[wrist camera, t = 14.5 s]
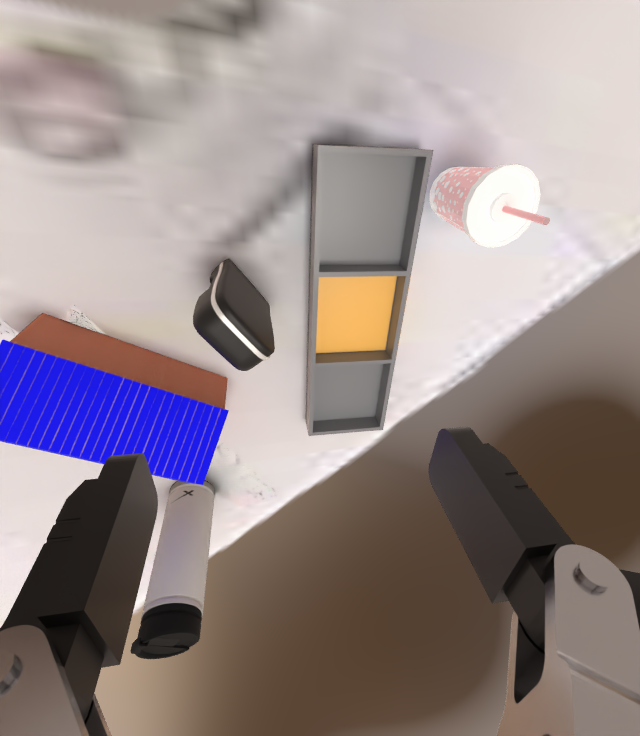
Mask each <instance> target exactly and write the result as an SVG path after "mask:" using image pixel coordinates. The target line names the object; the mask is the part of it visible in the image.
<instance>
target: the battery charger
mask: <svg viewBox="0 0 640 736" xmlns="http://www.w3.org/2000/svg"><path fill="white" fill-rule="evenodd" d="M210 283H211V285H210V287H209V289H208V290H207V291H205V292H204V293H203V294H202V295H201V296H200V297H199V299H198V301H197V303H196V306H195V310H194V315H193V324H194V327H195V329H196V330H197V332H198V333H199V334H200V335H201V336H202V337H203V338H204V339H205V340H206V341H207V342H208V343H209V344H210V345H211V346H212V347H213V348H214V349H215V350H216V351H217V352H218V353H220V354H221V355H222V356H223V357H224V358H225V359H226V360H227V361H228V362H229V363H231V364H232V365H233V366H234V367H235V368H237V369H238V370H241V371H247V370H250V369H251V368H253V367H254V366H256V365H257V364H259V363H260V362H261V361H263V360H266V359H268V358H269V357H270V355H271V354H272V353H273V352H274V349H275V347H274V336H273V329H272V323H271V317H270V306H269V304H268V303H267V301H266V300H265V299H264V298H263V297H262V296H261V294H260V293H259V292H258V291H257V290H256V289H255V287H254V286H253V285H252V284H251V283H250V282H249V281H248V279H247V278H246V277H245V276H244V275H243V274H242V273H241V271H240V270H239V269H238V268H237V267H236V266H235V265H234V263H233V262H232V261H231V260H229V259H227V260H226V261H224V262H222V263H220V265H219V266H218V267H217V268H216V269H215V270H214V271H213V272H212V274H211V277H210Z"/></svg>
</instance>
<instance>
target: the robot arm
mask: <svg viewBox="0 0 640 736" xmlns="http://www.w3.org/2000/svg"><path fill="white" fill-rule="evenodd" d="M429 478H430V482H431V485H432V487H433V489H434V491H435V493H436V495H437V497H438V499H439V501H440V503H441V505H442V507H443V508H444V511H445V513H446V515H447V517H448V519H449V521H450V522H451V524H452V526H453V528H454V530H455V532H456V534H457V536H458V538H459V540H460V542H461V544H462V546H463V548H464V550H465V552H466V553H467V555H468V558H469V559H470V561H471V563H472V565H473V567H474V569H475V571H476V573H477V575H478V577H479V579H480V581H481V583H482V585H483V587H484V589H485V591H486V593H487V595H488V597H489V598H490V600H491V602H492V603H498V602H504V601H509V602H510V604H511V605H512V607H513V609H514V613H513V616H512V624H511V637H510V652H509V666H508V679H507V693H506V704H505V709H504V713H503V716H502V719H501V722H500V725H499V728H498V732H497V736H640V573H635V572H630V571H625V570H620V569H618V568H617V567H616V566H615V565H614V564H613V563H611V562H610V561H609V560H608V559H607V558H605V557H604V556H602V555H600V554H599V553H597V552H596V551H593V550H591V549H589V548H587V547H583V546H580V545H576V544H575V543H574V542H573V541H572V540H571V539H570V537H569V536H568V535H567V534H566V532H565V531H564V530H563V529H562V527H561V526H560V525H559V524H558V522H557V521H556V520H555V518H554V517H553V516H552V515H551V513H550V512H549V511H548V509H547V508H546V507H545V506H544V505H543V503H542V502H541V501H540V500H539V498H538V497H537V496H536V494H535V493H534V492H533V491H532V489H531V488H528V484H527V483H526V482H525V480H524V479H523V478H522V477H521V475H518V471H517V470H516V469H515V468H514V467H513V465H512V464H511V463H510V461H509V460H508V459H507V457H506V456H505V455H503V454H502V453H501V452H499V451H498V450H497V449H495V448H494V447H492V446H491V445H490V444H488V443H487V444H483V443H482V442H481V441H480V439H479V438H478V437H477V435H476V434H475V433H474V432H473V430H472V429H471V428H469V427H458V428H447V429H441V430H440V431H439V433H438V437H437V440H436V443H435V447H434V450H433V453H432V457H431V460H430V464H429ZM157 507H158V498H157V492H156V488H155V485H154V482H153V479H152V475H151V472H150V469H149V466H148V463H147V459H146V457H145V455H144V454H143V453H140V454H128V455H116V456H110V457H108V459H107V460H106V462H105V464H104V466H103V468H102V471H101V473H100V475H99V477H98V479H91V480H85V481H84V482H83V483H82V484H81V485H80V486H79V487H78V488H77V489H76V490H75V491H74V492H73V493H72V494H71V495H70V496H69V497H68V498H67V499H66V501H65V503H64V505H63V507H62V509H61V511H60V513H59V515H58V517H57V519H56V524H55V525H53V527H52V529H51V531H50V533H49V535H48V537H47V543H45V544H44V545H43V547H42V549H41V551H40V553H39V555H38V557H37V559H36V561H35V563H34V565H33V567H32V569H31V571H30V573H29V575H28V577H27V579H26V581H25V583H24V585H23V587H22V589H21V591H20V593H19V595H18V597H17V599H16V601H15V603H14V605H13V607H12V609H11V611H10V613H9V615H8V617H7V619H6V620H5V622H4V624H3V625H2V627H1V628H0V736H112V735H111V733H110V731H109V728H108V726H107V723H106V721H105V718H104V716H103V713H102V711H101V709H100V706H99V704H98V701H97V699H96V696H95V694H94V692H95V688H96V684H97V681H98V677H99V674H100V670H101V668H102V667H108V666H114V665H119V664H120V662H121V658H122V654H123V650H124V645H125V642H126V638H127V633H128V629H129V625H130V621H131V617H132V613H133V609H134V605H135V601H136V597H137V593H138V589H139V585H140V581H141V577H142V573H143V569H144V564H145V560H146V556H147V552H148V548H149V544H150V540H151V536H152V532H153V528H154V524H155V520H156V515H157Z"/></svg>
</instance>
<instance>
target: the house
mask: <svg viewBox="0 0 640 736" xmlns="http://www.w3.org/2000/svg"><path fill="white" fill-rule="evenodd" d="M226 389H227V378H226V377H223V376H220V375H217V374H215V373H212V372H209V371H206V370H203V369H200V368H197V367H195V366H192V365H189V364H186V363H183V362H180V361H177V360H175V359H172V358H169V357H166V356H163V355H160V354H158V353H155V352H152V351H149V350H146V349H143V348H140V347H138V346H135V345H132V344H129V343H126V342H123V341H121V340H118V339H115V338H112V337H109V336H106V335H103V334H101V333H98V332H95V331H92V330H89V329H86V328H84V327H81V326H78V325H75V324H72V323H69V322H66V321H64V320H61V319H58V318H55V317H52V316H49V315H47V314H44V313H42V314H41V315H40V316H39V317H38V318H37V319H35V320H34V321H33V322H32V323H31V324H30V325H28V326H27V327H26V328H25V329H24V330H23V331H22V332H20V333H19V334H18V335H17V336H16V337H15V338H13V339H12V340H11V341H10V342H8V341H5V340H2V342H1V344H0V441H2V442H6V443H11V444H15V445H20V446H24V447H29V448H33V449H38V450H42V451H47V452H51V453H56V454H60V455H65V456H69V457H74V458H78V459H83V460H87V461H92V462H96V463H101V464H105V462H106V460H107V459H108V457H110V456H116V455H128V454H140V453H143V454H144V455H145V457H146V459H147V463H148V466H149V469H150V472H151V475H155V476H160V477H164V478H169V479H173V480H178V481H182V482H187V483H192V484H200V485H203V483H204V480H205V477H206V474H207V472H208V469H209V466H210V463H211V460H212V457H213V454H214V451H215V448H216V446H217V443H218V440H219V437H220V434H221V431H222V428H223V425H224V422H225V420H226V417H227V414H228V410H225V400H226Z"/></svg>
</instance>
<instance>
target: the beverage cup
mask: <svg viewBox="0 0 640 736" xmlns="http://www.w3.org/2000/svg"><path fill="white" fill-rule="evenodd" d="M540 196H541V195H540V188H539V181H538V179H537V178H536V176H535V175H534V173H533V172H532V171H531V169H528V168H526V167H523V166H521V165H519V164H509V165H501V166H496V167H452V168H448V169H447V170H445V171H443V172H442V173H440V174H439V176H438V177H437V178H436V179H435V180H434V182H433V185H432V187H431V189H430V197H429V202H430V205H431V208H432V210H433V211H434V212H435V213H436V214H437V215H438V216H440V217H441V218H443V219H444V220H446V221H448V222H449V223H451V224H452V225H454V226H456V227H457V228H459V229H460V230H462V231H464V232H465V233H466V234H467V235H468V236H469V237H470V238H471V239H472V240H473V242H476V243H477V244H479V245H482V246H485V247H489V248H493V247H499V246H504V245H506V244H508V243H510V242H511V241H513V240H515V239H517V238H518V237H519V236H520V235H521V234H522V233H523V232H524V231H525V230H526V229H527V228H528V227H529V225H530V223H531V221H533V222H537V223H540V224H543V225H547V224H548V223H549V221H550V219H549V218H547V217H544V216H540V215H537V214H536V212H537V209H538V204H539V200H540Z"/></svg>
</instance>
